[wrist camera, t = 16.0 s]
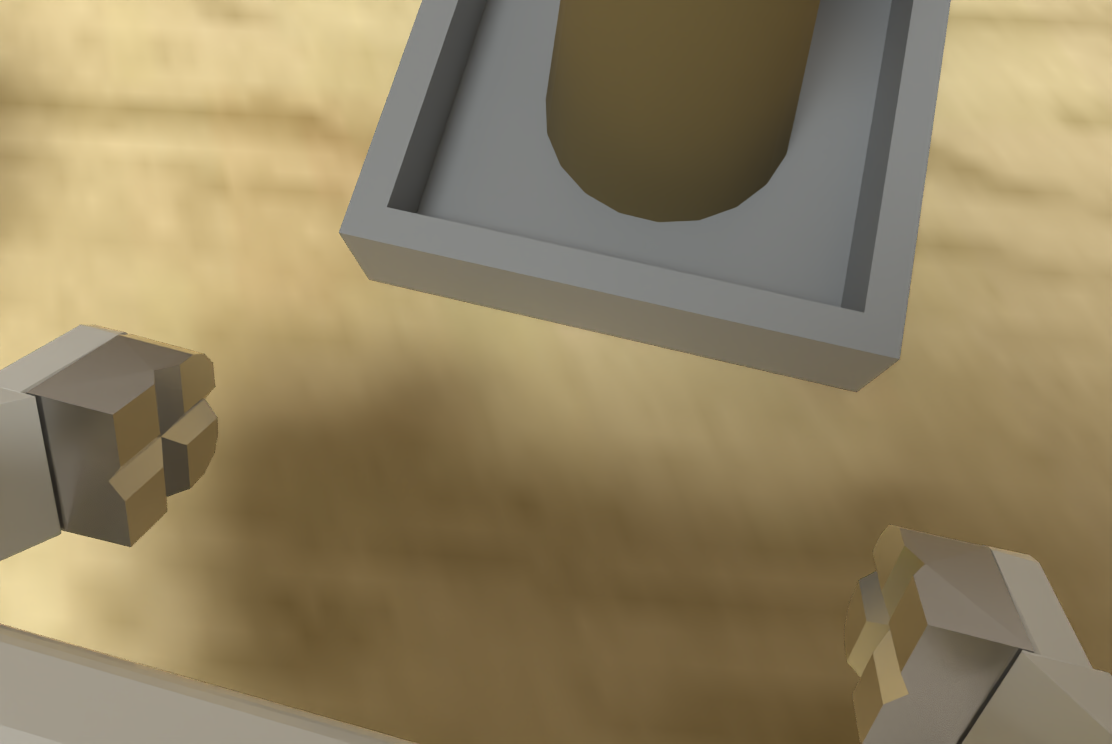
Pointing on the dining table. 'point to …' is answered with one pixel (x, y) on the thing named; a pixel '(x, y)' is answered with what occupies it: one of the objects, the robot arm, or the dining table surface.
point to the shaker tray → (647, 246)
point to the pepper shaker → (676, 99)
